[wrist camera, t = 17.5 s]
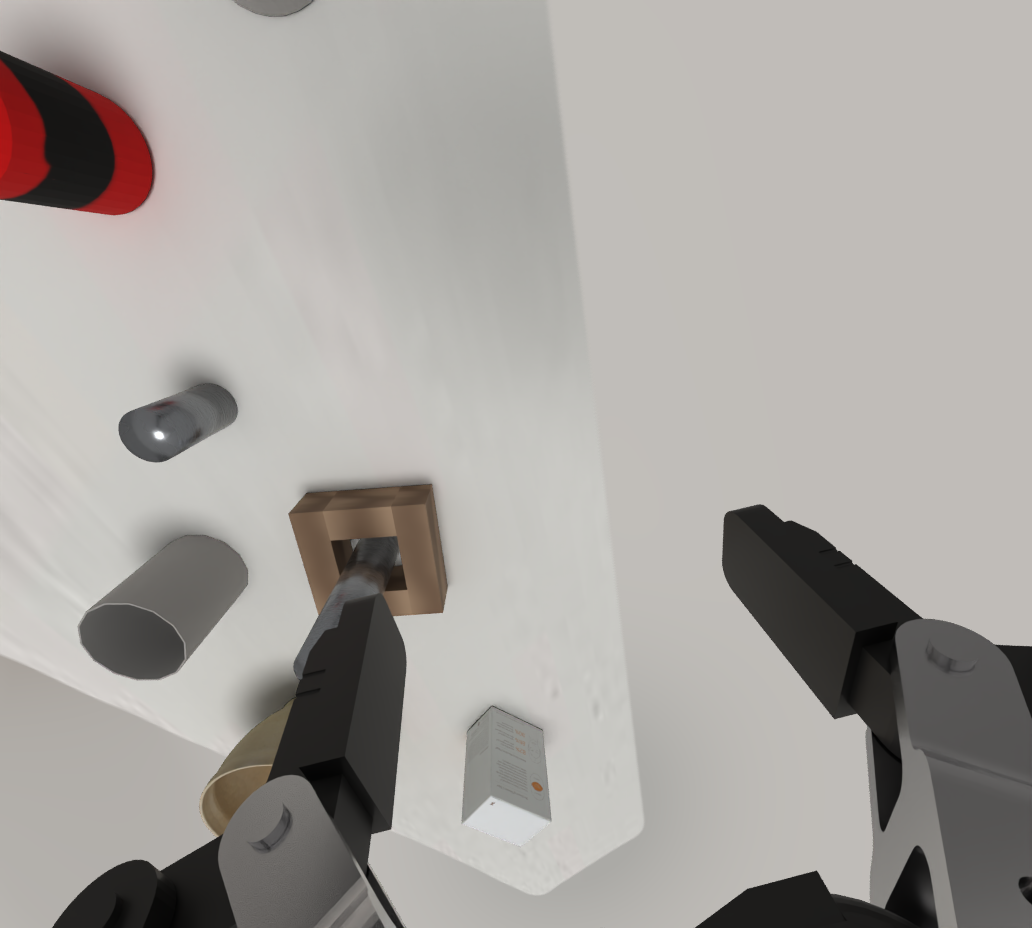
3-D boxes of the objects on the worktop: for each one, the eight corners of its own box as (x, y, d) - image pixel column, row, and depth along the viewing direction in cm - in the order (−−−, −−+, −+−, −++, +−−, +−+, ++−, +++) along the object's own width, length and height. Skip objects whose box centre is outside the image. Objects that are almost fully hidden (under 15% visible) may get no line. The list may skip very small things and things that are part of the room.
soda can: (169, 215, 34) (11, 189, 23) (67, 215, 34) (-142, 189, 23) (136, 90, 31) (-64, -7, 20) (24, 90, 31) (-239, -9, 20)
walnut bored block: (334, 594, 48) (320, 621, 45) (306, 493, 44) (288, 513, 40) (447, 586, 48) (442, 612, 45) (431, 484, 44) (425, 504, 40)
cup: (247, 608, 49) (187, 687, 40) (165, 595, 48) (85, 672, 39) (248, 543, 46) (184, 612, 36) (161, 527, 45) (72, 594, 35)
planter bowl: (229, 723, 55) (168, 823, 45) (302, 648, 51) (253, 740, 41) (340, 780, 60) (307, 882, 50) (416, 715, 56) (397, 812, 46)
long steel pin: (354, 546, 46) (284, 677, 31) (372, 517, 45) (307, 639, 30) (390, 564, 47) (338, 699, 32) (408, 536, 46) (363, 662, 31)
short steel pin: (183, 412, 40) (111, 444, 33) (198, 374, 39) (127, 398, 32) (228, 435, 41) (168, 471, 34) (244, 399, 40) (185, 428, 33)
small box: (466, 730, 57) (458, 824, 47) (492, 703, 55) (489, 796, 46) (518, 754, 59) (520, 849, 49) (544, 729, 57) (552, 823, 48)
